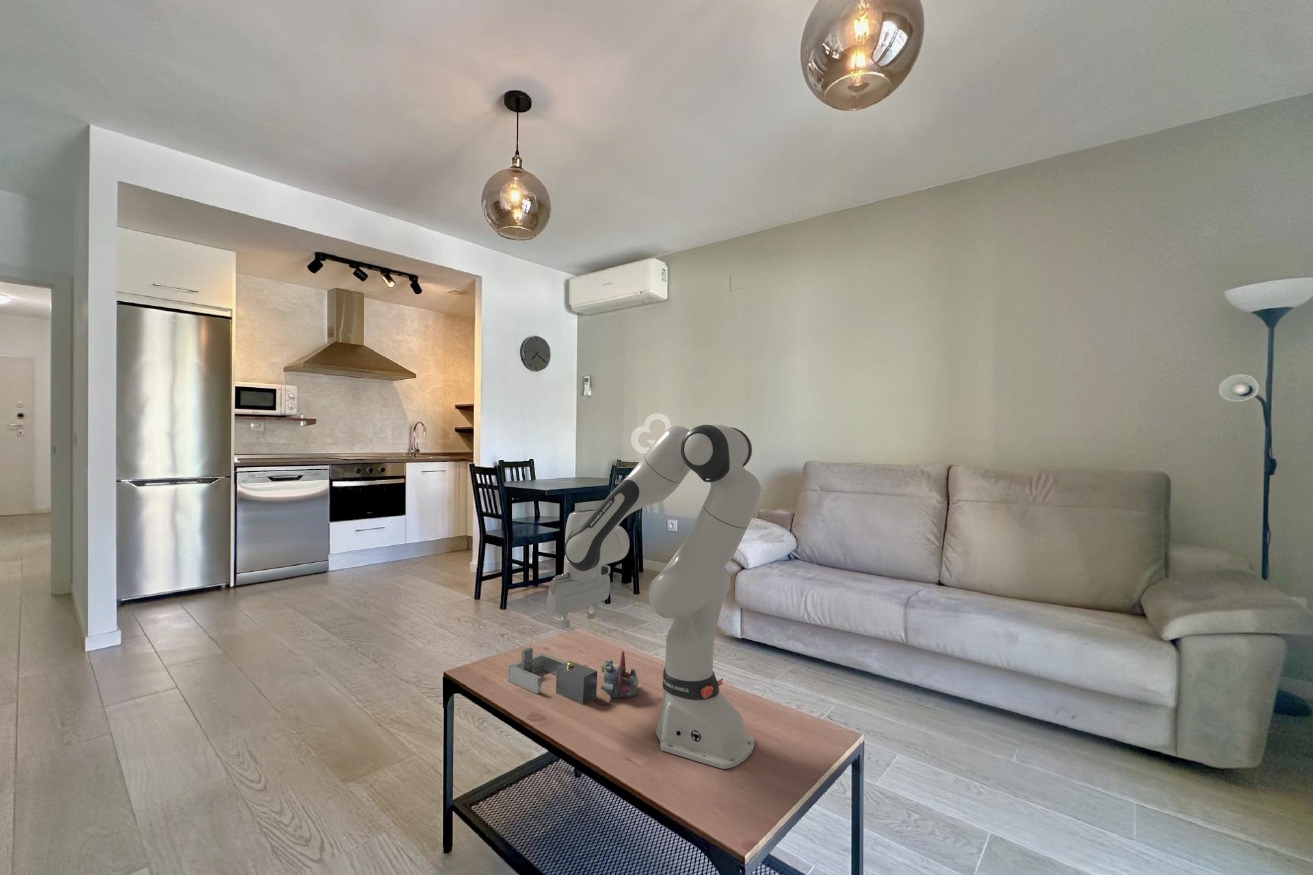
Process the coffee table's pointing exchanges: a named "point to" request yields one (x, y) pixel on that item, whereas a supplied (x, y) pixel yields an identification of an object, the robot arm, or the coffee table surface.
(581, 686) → the block
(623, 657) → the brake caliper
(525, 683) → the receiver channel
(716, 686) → the robot arm
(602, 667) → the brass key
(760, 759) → the coffee table surface
